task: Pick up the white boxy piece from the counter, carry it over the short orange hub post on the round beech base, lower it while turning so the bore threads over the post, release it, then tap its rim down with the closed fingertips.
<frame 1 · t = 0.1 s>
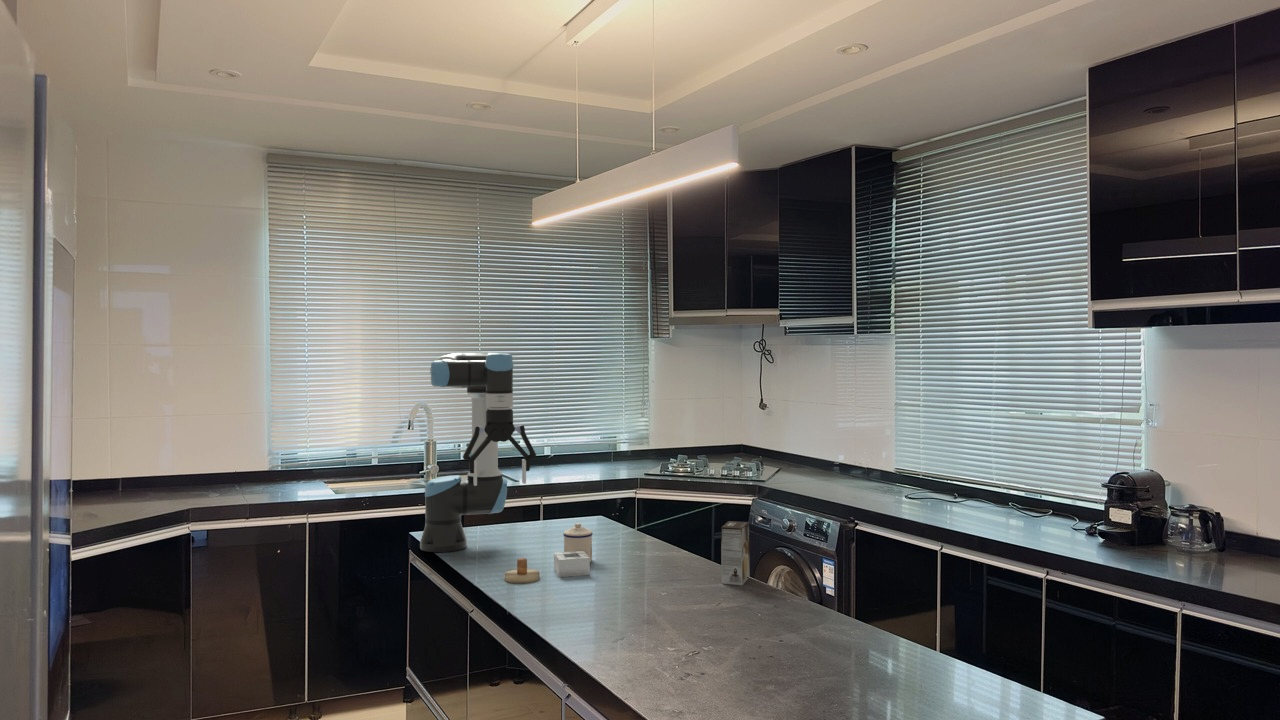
hand: (499, 484, 239), 28 cm above the counter, tool pointing down, fingers open, 13 cm apart
hub: (522, 578, 244), on the counter
white boxy piece: (571, 572, 251), on the counter
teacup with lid: (575, 560, 265), on the counter
coffee box: (735, 581, 241), on the counter
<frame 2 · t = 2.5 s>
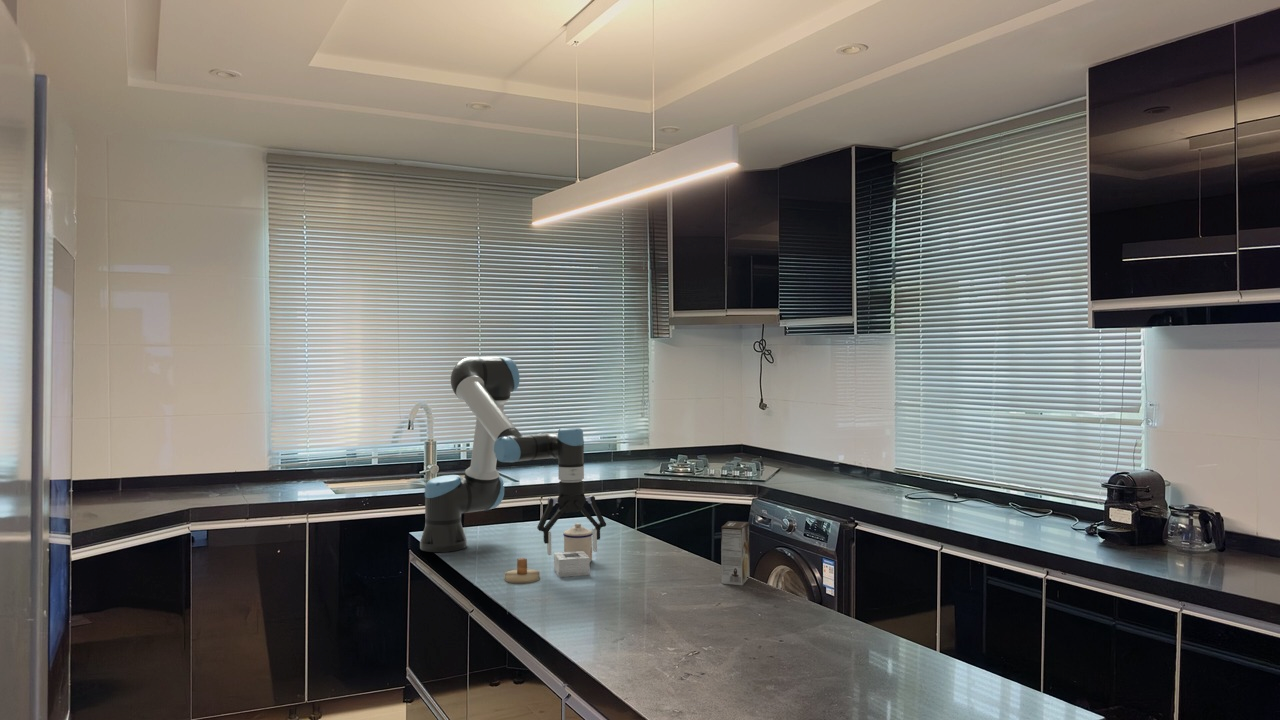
hand: (572, 552, 250), 6 cm above the counter, tool pointing down, fingers open, 13 cm apart
nothing on the counter moved.
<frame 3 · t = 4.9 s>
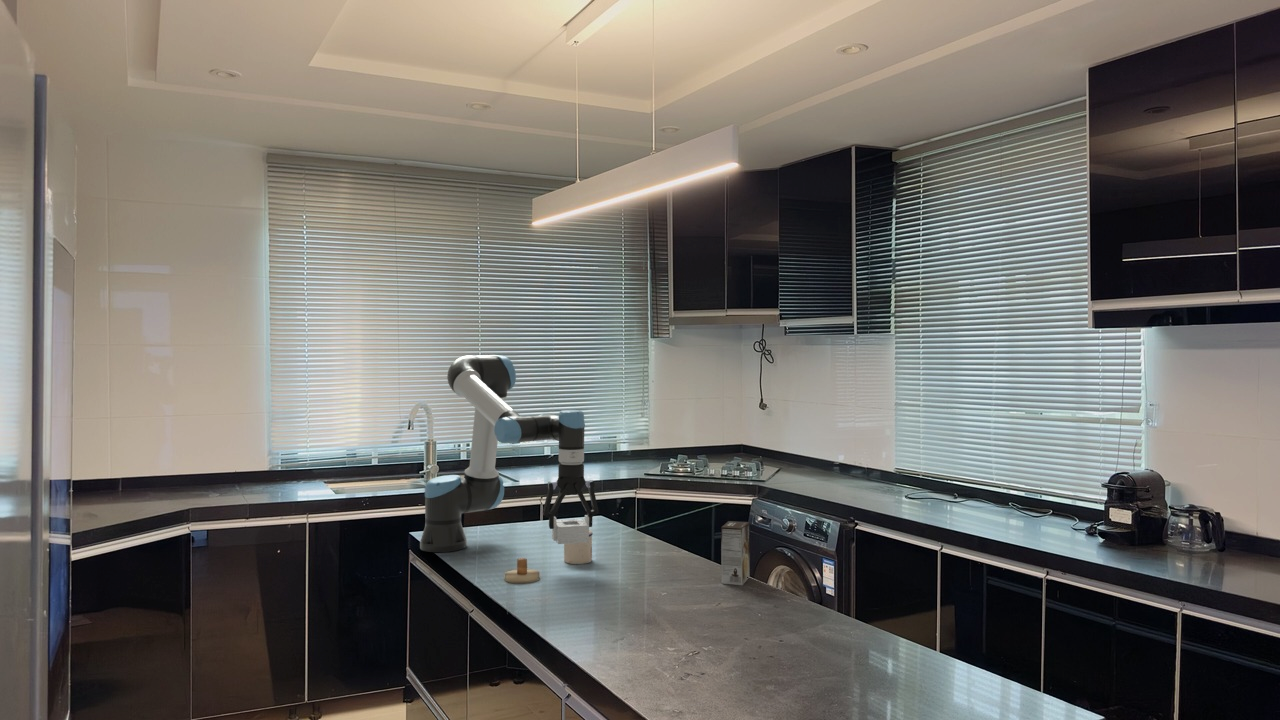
hand: (570, 538, 251), 10 cm above the counter, tool pointing down, fingers closed on white boxy piece, 9 cm apart
white boxy piece: (570, 539, 251), point 9 cm above the counter, touching gripper
everything else where it was.
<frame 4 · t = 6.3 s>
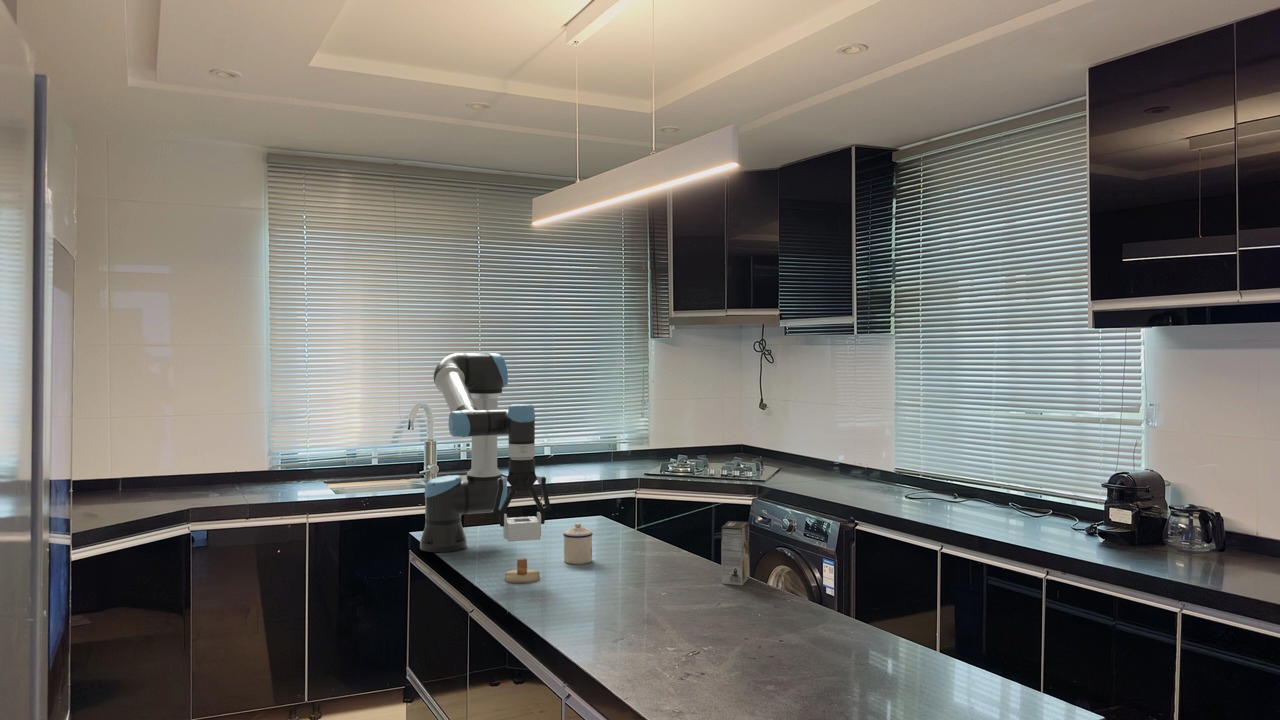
hand: (522, 536, 244), 12 cm above the counter, tool pointing down, fingers closed on white boxy piece, 9 cm apart
white boxy piece: (522, 537, 244), point 12 cm above the counter, touching gripper
everything else where it was.
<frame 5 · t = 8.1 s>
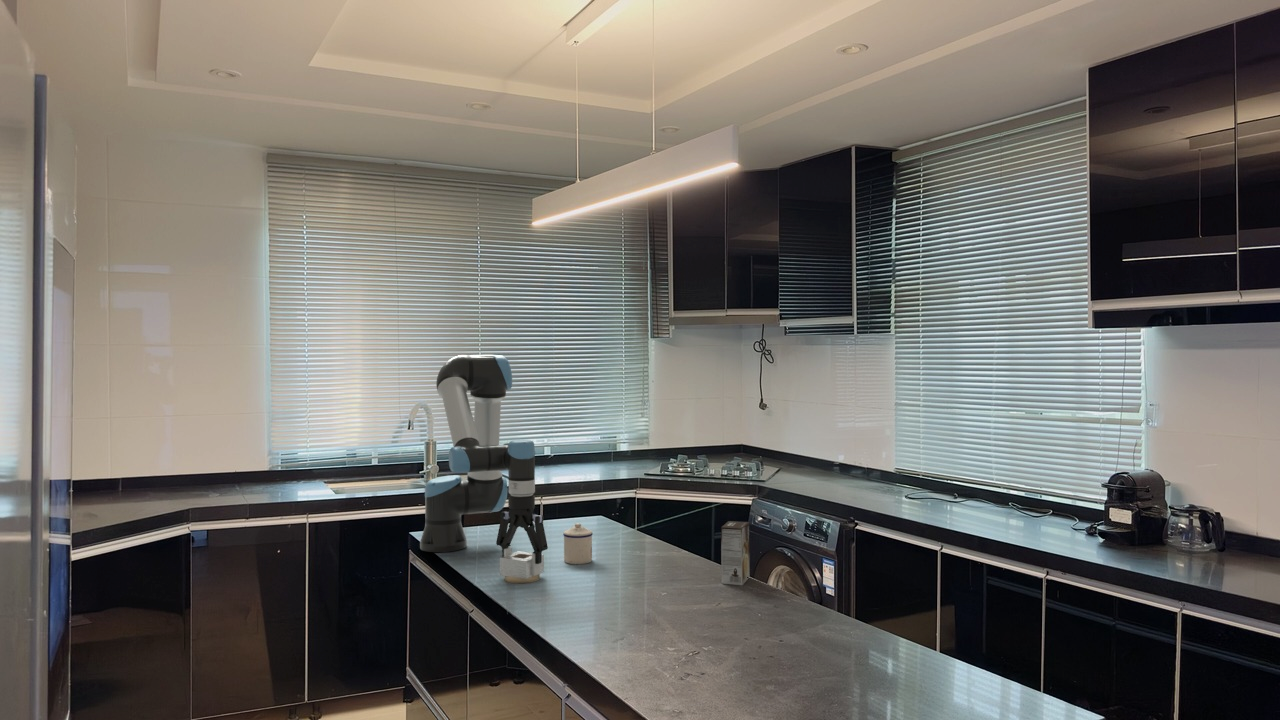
hand: (521, 572, 244), 2 cm above the counter, tool pointing down, fingers closed on white boxy piece, hub, 9 cm apart
white boxy piece: (522, 573, 244), point 1 cm above the counter, touching gripper, hub
everything else where it was.
when the fingers open (2 cm above the counter, at t = 8.8 s): white boxy piece stays where it is, resting on hub.
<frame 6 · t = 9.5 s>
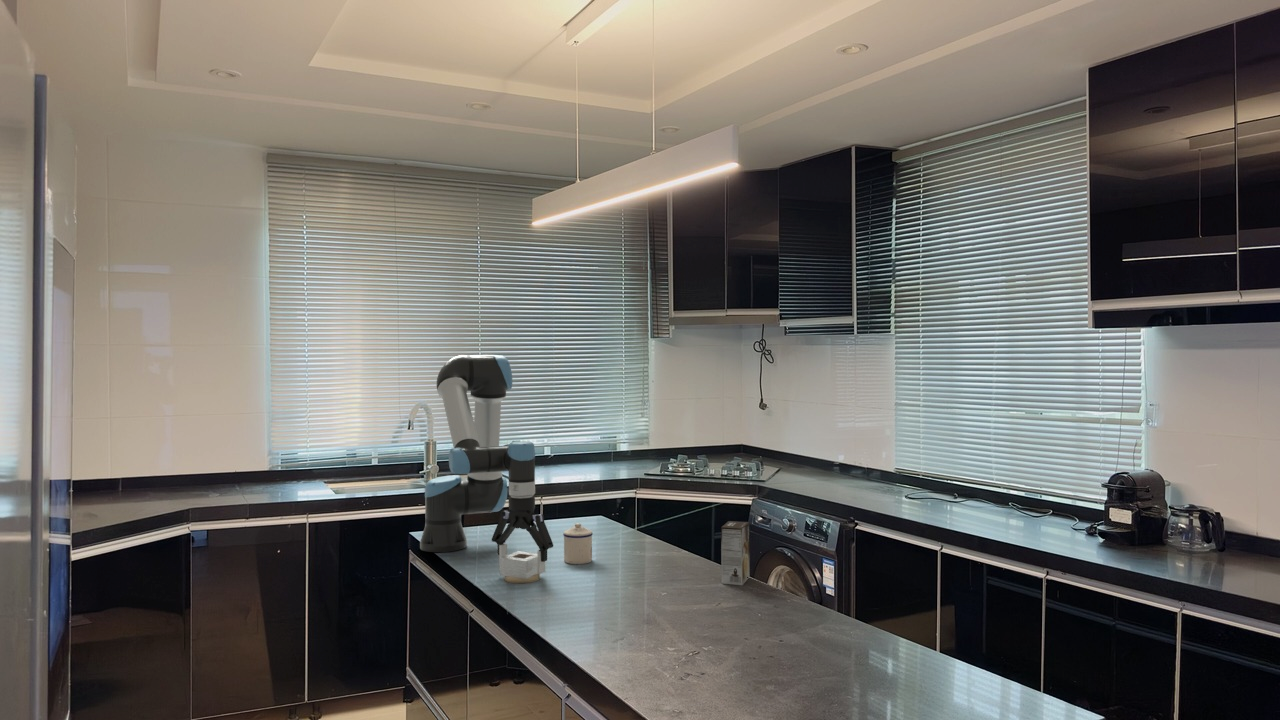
hand: (522, 569, 244), 3 cm above the counter, tool pointing down, fingers open, 13 cm apart
white boxy piece: (522, 573, 244), point 1 cm above the counter, touching hub
everything else where it was.
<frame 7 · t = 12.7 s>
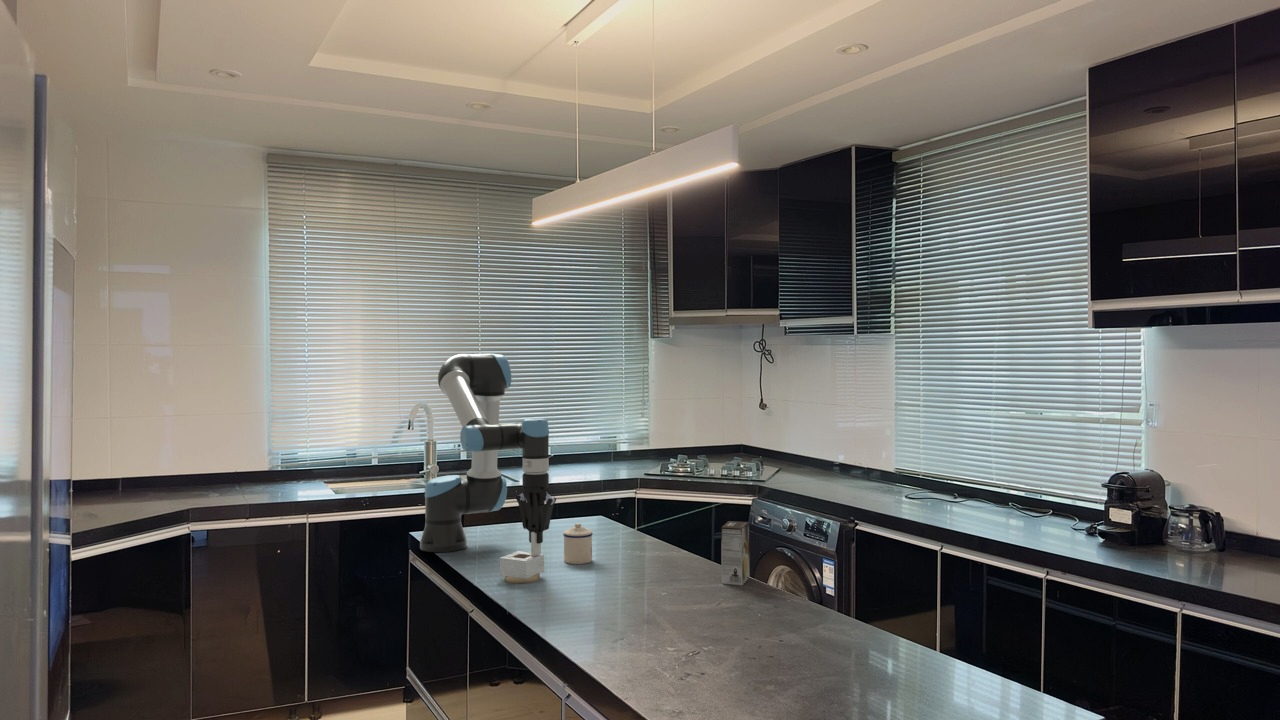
hand: (536, 554, 245), 7 cm above the counter, tool pointing down, fingers closed
white boxy piece: (522, 573, 244), point 1 cm above the counter, touching gripper, hub
everything else where it was.
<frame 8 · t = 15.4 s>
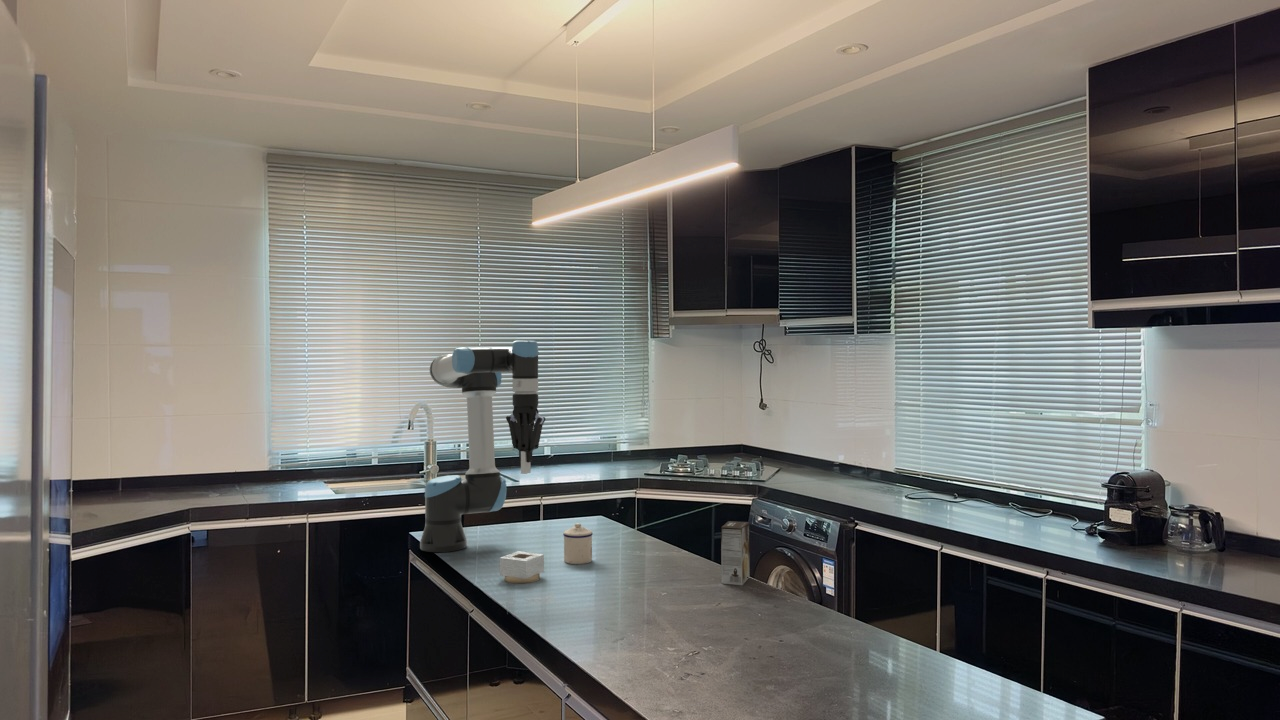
hand: (525, 473, 250), 29 cm above the counter, tool pointing down, fingers closed
white boxy piece: (522, 573, 244), point 1 cm above the counter, touching hub
everything else where it was.
at the end: white boxy piece 0.1 cm off-centre on the hub, point 1.5 cm above the hub's base; the gripper is holding nothing; white boxy piece tilted 0° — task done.
